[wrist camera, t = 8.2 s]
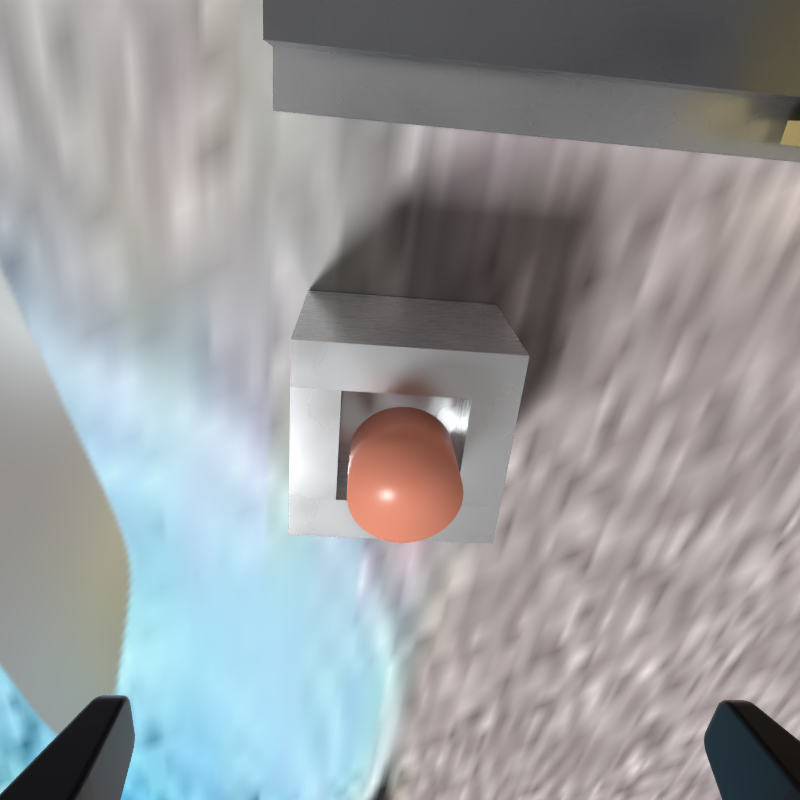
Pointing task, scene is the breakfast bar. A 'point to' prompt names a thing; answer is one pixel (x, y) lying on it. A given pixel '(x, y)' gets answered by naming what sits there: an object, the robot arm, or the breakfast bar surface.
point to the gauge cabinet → (400, 399)
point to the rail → (550, 68)
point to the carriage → (791, 134)
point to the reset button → (403, 476)
